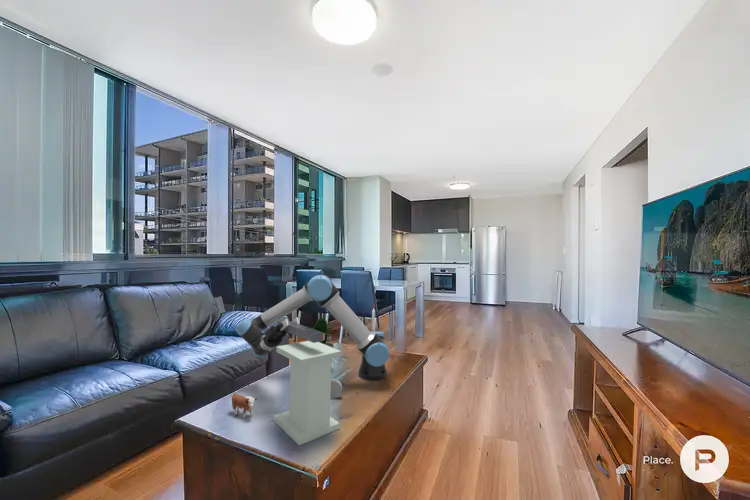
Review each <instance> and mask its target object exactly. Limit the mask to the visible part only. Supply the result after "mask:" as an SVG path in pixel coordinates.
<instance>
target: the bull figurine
mask: <svg viewBox="0 0 750 500" xmlns="http://www.w3.org/2000/svg"><path fill="white" fill-rule="evenodd" d="M257 400H258V397H253V396H247V395H246V396H245V395H242V394H238V393H234V394H232V397H231V409H232V411H234V416H238V415H239V414H238V412H240V410H243V415H242V417H243V418H244V419H246V417H247V416H246V413H247V412H249V416H250V417H253V416H254V414H253V409H252V408H254V407H255V401H257Z"/></svg>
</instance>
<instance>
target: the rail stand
mask: <svg viewBox="0 0 750 500" xmlns="http://www.w3.org/2000/svg"><path fill="white" fill-rule="evenodd" d="M275 348H276V351H275V352H276V353H277V354H280V355H281V356H284V357H285V358H287V359H289V361H290V363H289V364H290V366H289V367H290V369H289V370H290V371H289V372H290V373H289V399H288V400H289V401H288V404H289V405H288V410H287V411H284V412H280V413H278V414H275V415H274V416H273V418H274V419H273V420H274V422H275V424H277V425H278V426H279V427H280V428H281V430H282V431H284V432H285V433H286V434H287V435H288V436H289V437H290V438H291V439H292V440H293V441H294V442H295V444H297V445H298V446H301V445H305V444H306V443H309V442H311V441H313V440H316V439H319V438H320V437H323V436H325V435H327V434H330V433H332V432H334V431H337V430H339V429H340V422H339V421H337V420H336V419H335V418H333V417H332V416H331V398H330V395H331V378H332V363H331V359H332V360H333V359H337V358H342V357H341V356H342V351H341V350H340V349H337V348H335V347H334V348H332V347H329V346H327V345H325V344H322V343H320V342H316V343H313V342H310V341H308V340H306V341H305V340H304V341H299V342H293V343H288V344H283V345H282V344H281V345H277V346H276V347H275Z"/></svg>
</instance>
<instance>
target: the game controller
mask: <svg viewBox="0 0 750 500" xmlns="http://www.w3.org/2000/svg"><path fill="white" fill-rule="evenodd" d="M342 392H343V384H342V382H341V381H340V380H338V379H336V378H333V377H331V395H330V399H333V400H334V399H338V398H339V397H340V396H341V394H342Z"/></svg>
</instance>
